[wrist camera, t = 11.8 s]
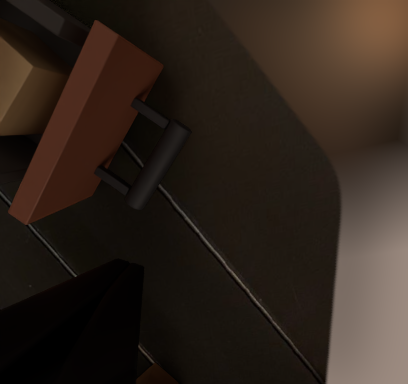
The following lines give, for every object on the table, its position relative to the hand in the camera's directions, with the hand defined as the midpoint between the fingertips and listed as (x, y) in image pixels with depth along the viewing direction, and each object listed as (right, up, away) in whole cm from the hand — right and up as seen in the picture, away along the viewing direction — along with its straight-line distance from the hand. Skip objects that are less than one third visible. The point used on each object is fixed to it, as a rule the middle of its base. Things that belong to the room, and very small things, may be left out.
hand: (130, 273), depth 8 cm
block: (-8, +9, +10) cm, 16 cm away
